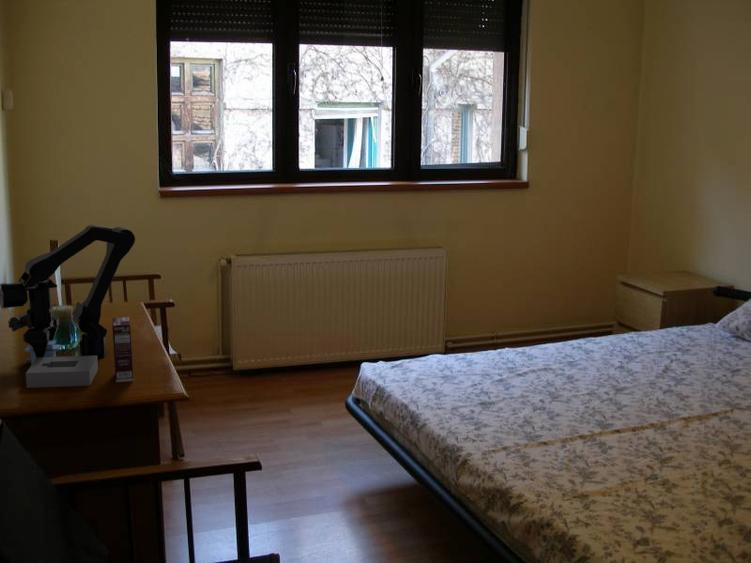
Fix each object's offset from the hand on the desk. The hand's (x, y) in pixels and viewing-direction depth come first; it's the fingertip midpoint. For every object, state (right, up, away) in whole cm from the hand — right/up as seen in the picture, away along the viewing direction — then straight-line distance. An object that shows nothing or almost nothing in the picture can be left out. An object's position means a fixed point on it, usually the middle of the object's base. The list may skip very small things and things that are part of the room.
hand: (43, 357), depth 255 cm
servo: (0, -2, 0) cm, 2 cm away
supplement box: (+26, -5, -11) cm, 29 cm away
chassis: (+10, -5, -13) cm, 17 cm away
